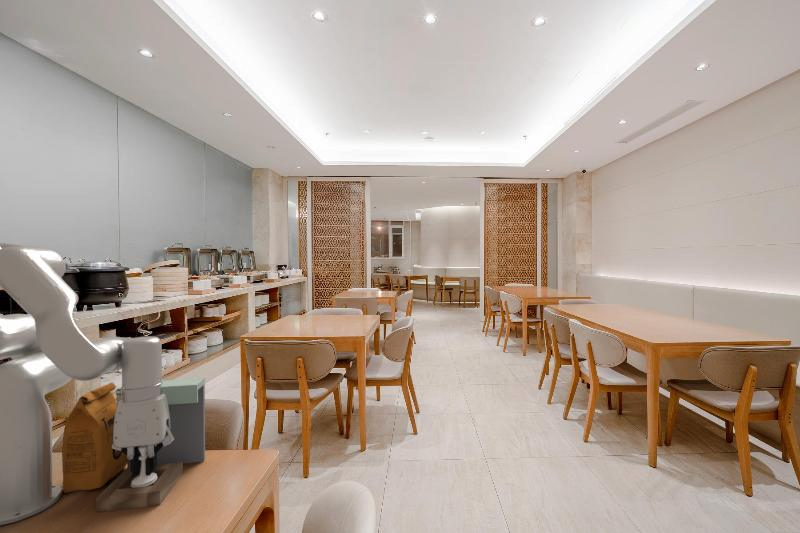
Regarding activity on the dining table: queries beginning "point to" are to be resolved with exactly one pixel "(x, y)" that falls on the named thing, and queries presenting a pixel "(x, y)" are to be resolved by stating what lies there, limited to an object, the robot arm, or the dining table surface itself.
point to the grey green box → (184, 421)
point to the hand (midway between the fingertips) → (144, 472)
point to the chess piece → (143, 471)
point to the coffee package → (91, 442)
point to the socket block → (139, 489)
